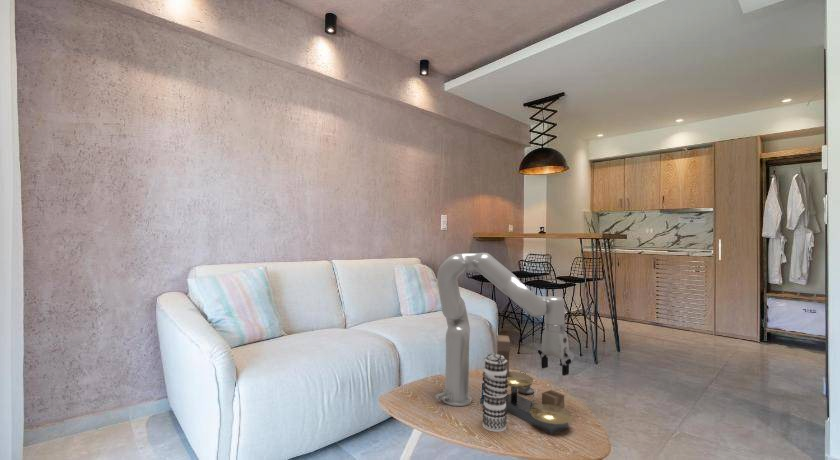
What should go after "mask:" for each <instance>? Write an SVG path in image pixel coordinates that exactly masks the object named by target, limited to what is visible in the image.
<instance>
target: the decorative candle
mask: <svg viewBox="0 0 840 460" xmlns="http://www.w3.org/2000/svg"><path fill="white" fill-rule="evenodd" d="M483 361H484V369H483V370H484V371H483V373H482V382H483V383H482V392H483V394H484V397H483V398H484V399H483V404H482V420H481V421H482V427H483V428H484V429H485V430H487V431H490V432H495V433H497V432H504V431H505V430H507V424H508V423H507V422H508V421H507V419H508V418H507V417H508V416H507V415H508V412H507V411H506V410H507V407H506V395H508V390H507V388H508V387H509V386H508V385H507V383H508V381H507V380H506V378H507V377H509V376H508V374H507V373H508V371H507V369H506V362H507V360H506V359H505V358H504V356H502V355H500V354H497V353H489V354H487V355H486V357H485V358H484V359H483Z"/></svg>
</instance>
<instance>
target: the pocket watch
mask: <svg viewBox="0 0 840 460" xmlns="http://www.w3.org/2000/svg"><path fill="white" fill-rule="evenodd" d="M519 373H523V374H526V375H527V373H526V372H525V371H524V370H520V371H519ZM517 391H518V392H519V393H522V394H526V395H532V394H535V390H534V389H533V388H532V387H531V385H530V386H527V387H517Z"/></svg>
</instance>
